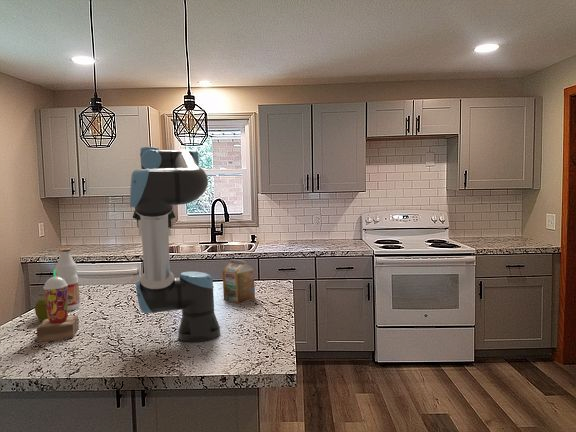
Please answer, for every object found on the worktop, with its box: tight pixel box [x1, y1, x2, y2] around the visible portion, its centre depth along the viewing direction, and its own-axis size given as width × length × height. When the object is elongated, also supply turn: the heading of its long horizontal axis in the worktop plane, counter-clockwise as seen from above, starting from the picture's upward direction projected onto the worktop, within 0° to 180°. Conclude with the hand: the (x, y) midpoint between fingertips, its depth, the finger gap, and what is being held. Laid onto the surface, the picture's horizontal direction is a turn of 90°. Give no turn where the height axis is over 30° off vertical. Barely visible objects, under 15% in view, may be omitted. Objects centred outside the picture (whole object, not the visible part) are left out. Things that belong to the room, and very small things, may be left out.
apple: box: [34, 297, 48, 322], centre depth 189 cm, size 10×10×11 cm
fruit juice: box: [54, 247, 81, 312], centre depth 206 cm, size 9×9×28 cm
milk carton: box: [222, 258, 256, 304], centre depth 213 cm, size 11×11×19 cm
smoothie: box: [42, 268, 69, 323], centre depth 170 cm, size 8×8×20 cm
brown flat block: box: [36, 315, 80, 343], centre depth 170 cm, size 12×12×5 cm
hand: (154, 235), depth 187 cm, fingers open, 13 cm apart
